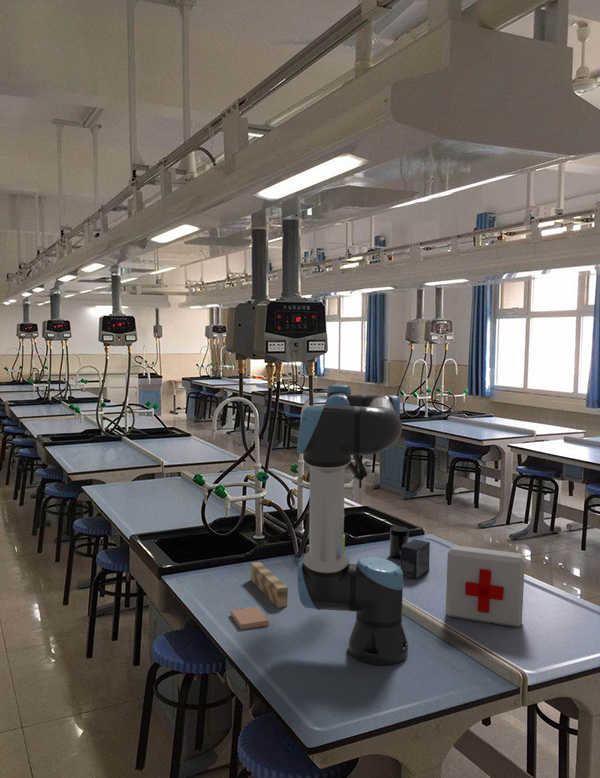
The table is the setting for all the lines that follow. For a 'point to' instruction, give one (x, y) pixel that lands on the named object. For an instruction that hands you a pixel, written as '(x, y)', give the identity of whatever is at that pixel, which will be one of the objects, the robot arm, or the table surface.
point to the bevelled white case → (485, 585)
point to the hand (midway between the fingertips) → (336, 500)
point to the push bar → (269, 584)
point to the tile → (249, 617)
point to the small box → (415, 558)
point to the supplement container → (397, 540)
